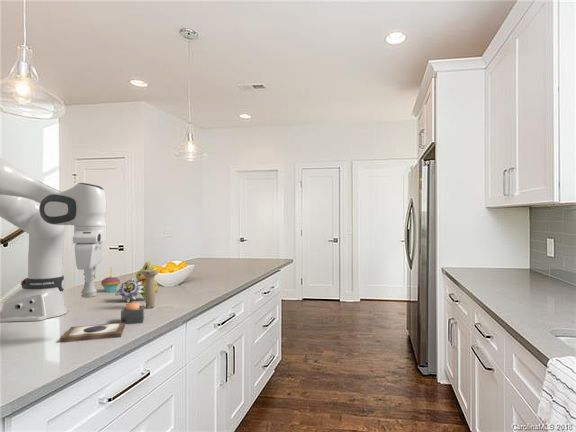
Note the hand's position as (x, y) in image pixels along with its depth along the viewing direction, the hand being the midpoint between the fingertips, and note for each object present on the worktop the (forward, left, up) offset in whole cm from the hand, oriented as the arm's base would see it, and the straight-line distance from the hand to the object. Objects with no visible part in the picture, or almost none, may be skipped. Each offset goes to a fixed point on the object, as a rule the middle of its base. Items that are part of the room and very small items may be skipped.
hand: (90, 280), depth 116 cm
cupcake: (-4, +77, -17) cm, 79 cm away
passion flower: (+8, +51, -17) cm, 54 cm away
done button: (+11, +14, -14) cm, 23 cm away
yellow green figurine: (+13, +68, -17) cm, 71 cm away
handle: (+16, +34, -17) cm, 41 cm away
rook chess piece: (0, 0, -5) cm, 5 cm away
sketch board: (+1, +2, -17) cm, 17 cm away
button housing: (+11, +14, -17) cm, 25 cm away
